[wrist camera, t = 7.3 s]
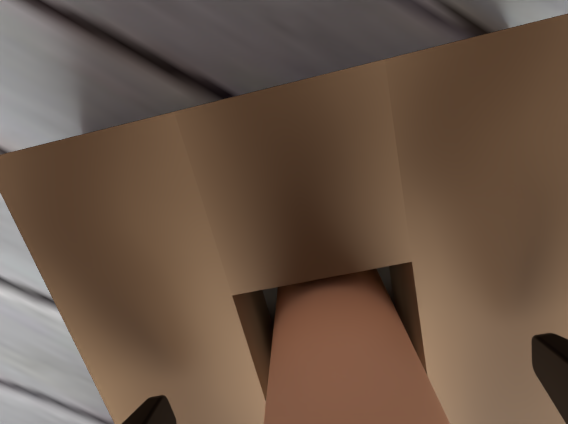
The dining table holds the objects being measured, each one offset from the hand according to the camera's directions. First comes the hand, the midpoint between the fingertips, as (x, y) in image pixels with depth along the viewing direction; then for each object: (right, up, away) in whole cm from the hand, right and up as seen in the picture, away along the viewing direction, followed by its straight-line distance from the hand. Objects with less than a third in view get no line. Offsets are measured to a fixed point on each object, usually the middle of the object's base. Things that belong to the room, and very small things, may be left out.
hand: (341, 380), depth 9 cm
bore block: (0, +2, +5) cm, 5 cm away
